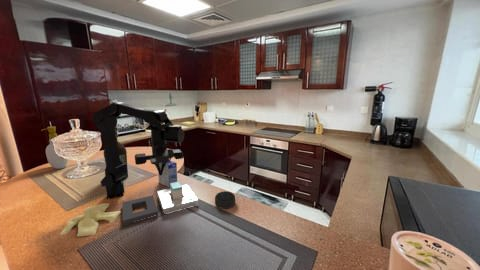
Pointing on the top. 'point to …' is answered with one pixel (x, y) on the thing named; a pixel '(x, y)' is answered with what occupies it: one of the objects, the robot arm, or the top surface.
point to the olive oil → (120, 154)
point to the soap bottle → (50, 153)
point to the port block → (182, 203)
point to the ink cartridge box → (168, 174)
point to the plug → (176, 191)
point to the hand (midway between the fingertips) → (160, 175)
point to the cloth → (91, 219)
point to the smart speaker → (225, 199)
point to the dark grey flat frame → (131, 217)
